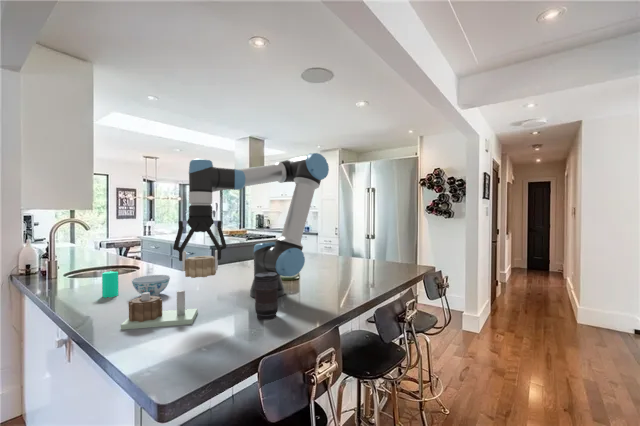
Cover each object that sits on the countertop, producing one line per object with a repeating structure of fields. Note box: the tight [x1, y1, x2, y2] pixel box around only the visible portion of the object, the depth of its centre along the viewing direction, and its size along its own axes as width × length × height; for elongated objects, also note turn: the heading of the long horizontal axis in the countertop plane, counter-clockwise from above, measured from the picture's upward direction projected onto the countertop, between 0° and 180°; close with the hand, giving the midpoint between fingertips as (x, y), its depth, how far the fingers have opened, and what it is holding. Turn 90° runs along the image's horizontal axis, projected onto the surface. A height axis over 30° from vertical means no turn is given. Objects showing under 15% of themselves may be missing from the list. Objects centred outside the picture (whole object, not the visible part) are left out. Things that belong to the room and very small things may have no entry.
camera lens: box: [253, 272, 279, 321], centre depth 111 cm, size 8×8×15 cm
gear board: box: [120, 290, 199, 330], centre depth 107 cm, size 21×12×10 cm, turn 103°
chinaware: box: [131, 274, 171, 297], centre depth 141 cm, size 15×15×8 cm
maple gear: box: [184, 255, 217, 279], centre depth 109 cm, size 10×10×6 cm
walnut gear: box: [128, 296, 163, 322], centre depth 106 cm, size 10×10×6 cm
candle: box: [101, 268, 119, 299], centre depth 140 cm, size 6×6×12 cm
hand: (200, 270), depth 108 cm, fingers closed on maple gear, 10 cm apart
